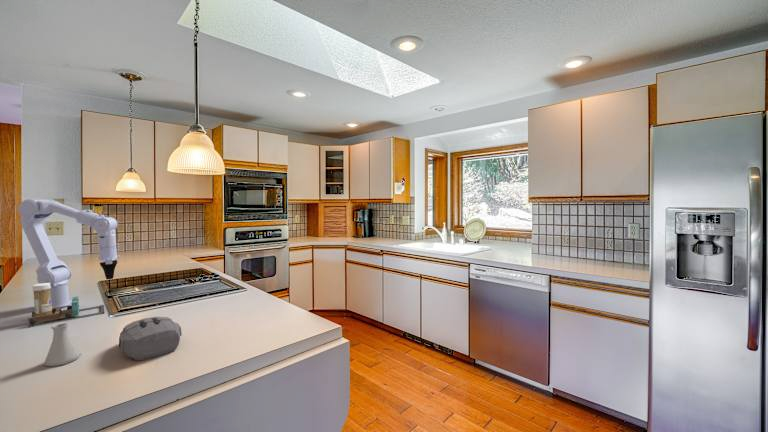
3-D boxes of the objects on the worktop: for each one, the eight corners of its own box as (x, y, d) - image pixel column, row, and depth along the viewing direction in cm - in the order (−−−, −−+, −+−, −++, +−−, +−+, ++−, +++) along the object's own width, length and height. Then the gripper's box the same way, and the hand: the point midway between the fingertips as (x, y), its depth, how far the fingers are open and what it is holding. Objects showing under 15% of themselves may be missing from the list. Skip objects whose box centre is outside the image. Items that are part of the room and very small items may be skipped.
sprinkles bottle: (51, 321, 123) (48, 284, 122) (33, 323, 120) (30, 286, 119) (54, 317, 126) (51, 281, 126) (37, 319, 124) (34, 283, 123)
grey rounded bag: (188, 348, 100) (170, 329, 114) (186, 321, 99) (169, 305, 113) (123, 368, 89) (113, 344, 103) (121, 337, 88) (111, 317, 103)
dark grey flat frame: (33, 318, 125) (33, 316, 125) (103, 306, 138) (103, 304, 138) (29, 327, 117) (29, 325, 117) (104, 313, 130) (104, 311, 130)
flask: (60, 355, 96) (57, 320, 96) (87, 353, 97) (84, 319, 96) (36, 368, 89) (33, 331, 88) (66, 366, 90) (62, 329, 89)
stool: (32, 316, 125) (31, 303, 125) (79, 308, 133) (78, 296, 133) (28, 324, 117) (27, 310, 117) (78, 315, 125) (77, 302, 125)
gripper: (120, 247, 137) (123, 280, 138) (118, 243, 148) (120, 274, 149) (97, 249, 133) (100, 283, 134) (97, 245, 144) (100, 276, 145)
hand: (109, 278), depth 141 cm, fingers closed
